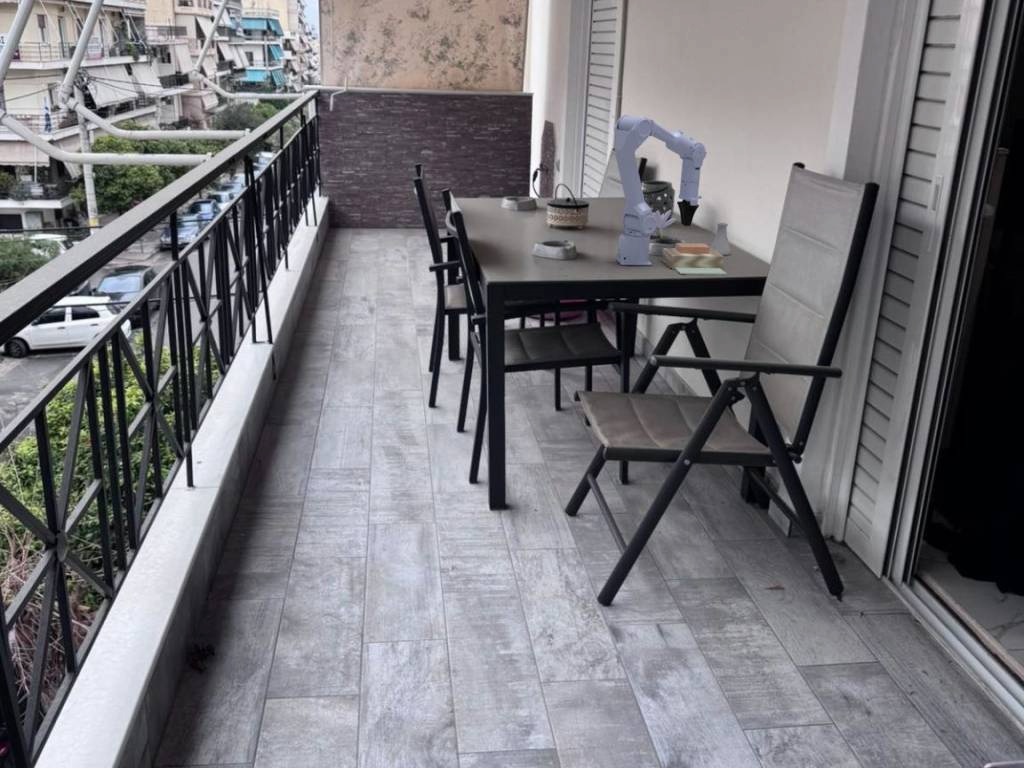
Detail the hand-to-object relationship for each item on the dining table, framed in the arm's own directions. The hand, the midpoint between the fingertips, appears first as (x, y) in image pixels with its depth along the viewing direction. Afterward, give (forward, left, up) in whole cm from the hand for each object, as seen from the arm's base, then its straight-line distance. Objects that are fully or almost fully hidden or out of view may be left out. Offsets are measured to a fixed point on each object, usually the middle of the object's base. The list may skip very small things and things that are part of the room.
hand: (685, 225), depth 290 cm
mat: (0, -21, -10) cm, 23 cm away
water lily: (-1, +34, -11) cm, 36 cm away
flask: (+14, +7, -11) cm, 19 cm away
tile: (0, -10, -6) cm, 12 cm away
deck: (0, -11, -10) cm, 15 cm away
